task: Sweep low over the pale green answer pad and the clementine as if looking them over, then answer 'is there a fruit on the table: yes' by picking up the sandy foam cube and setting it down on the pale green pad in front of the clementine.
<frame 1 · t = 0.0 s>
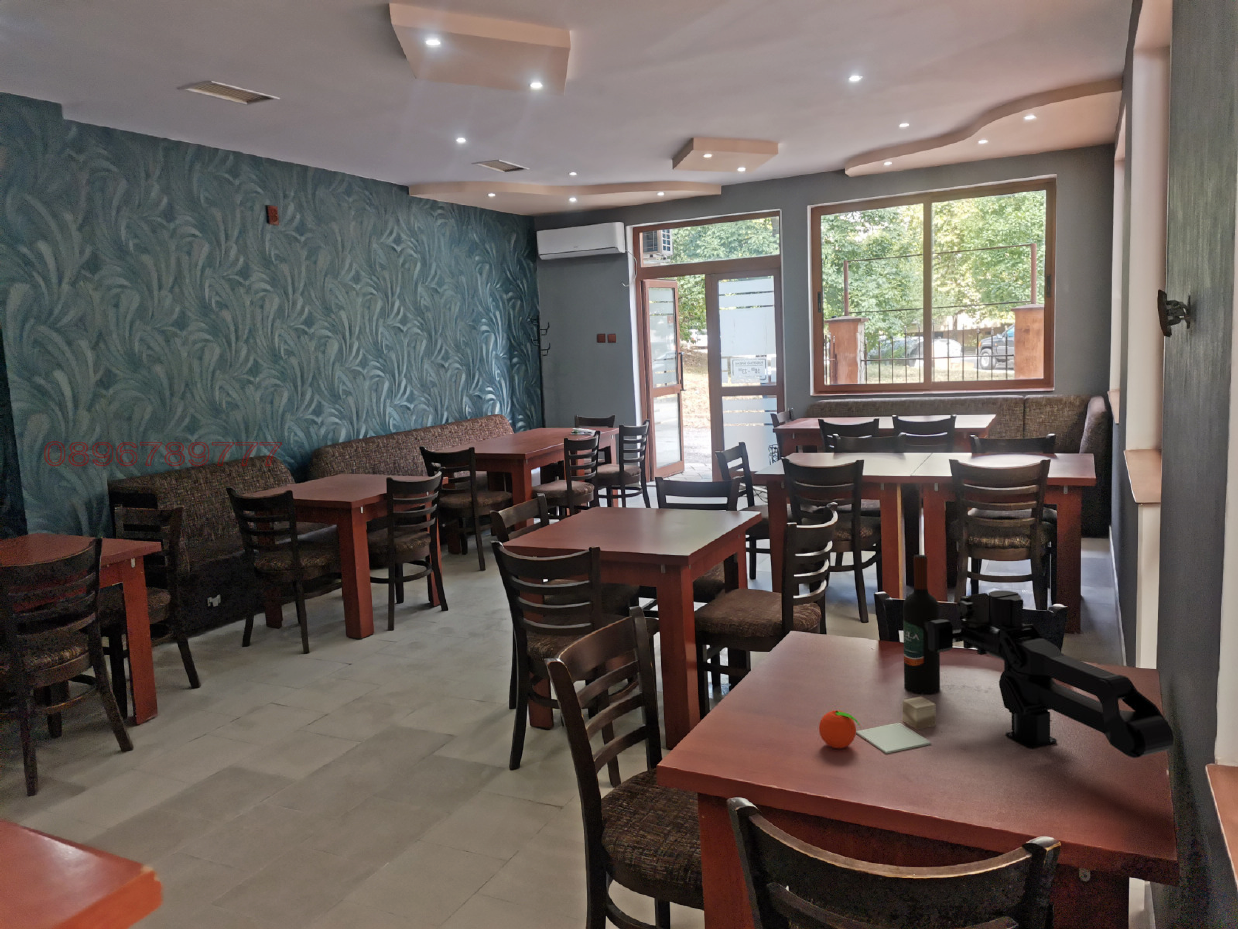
hand: (942, 620, 189), 17 cm above the table, tool horizontal, fingers open, 9 cm apart
sandy foam cube: (919, 723, 177), on the table
pad: (892, 738, 170), on the table
clementine: (840, 748, 168), on the table
wine bottle: (922, 689, 195), on the table
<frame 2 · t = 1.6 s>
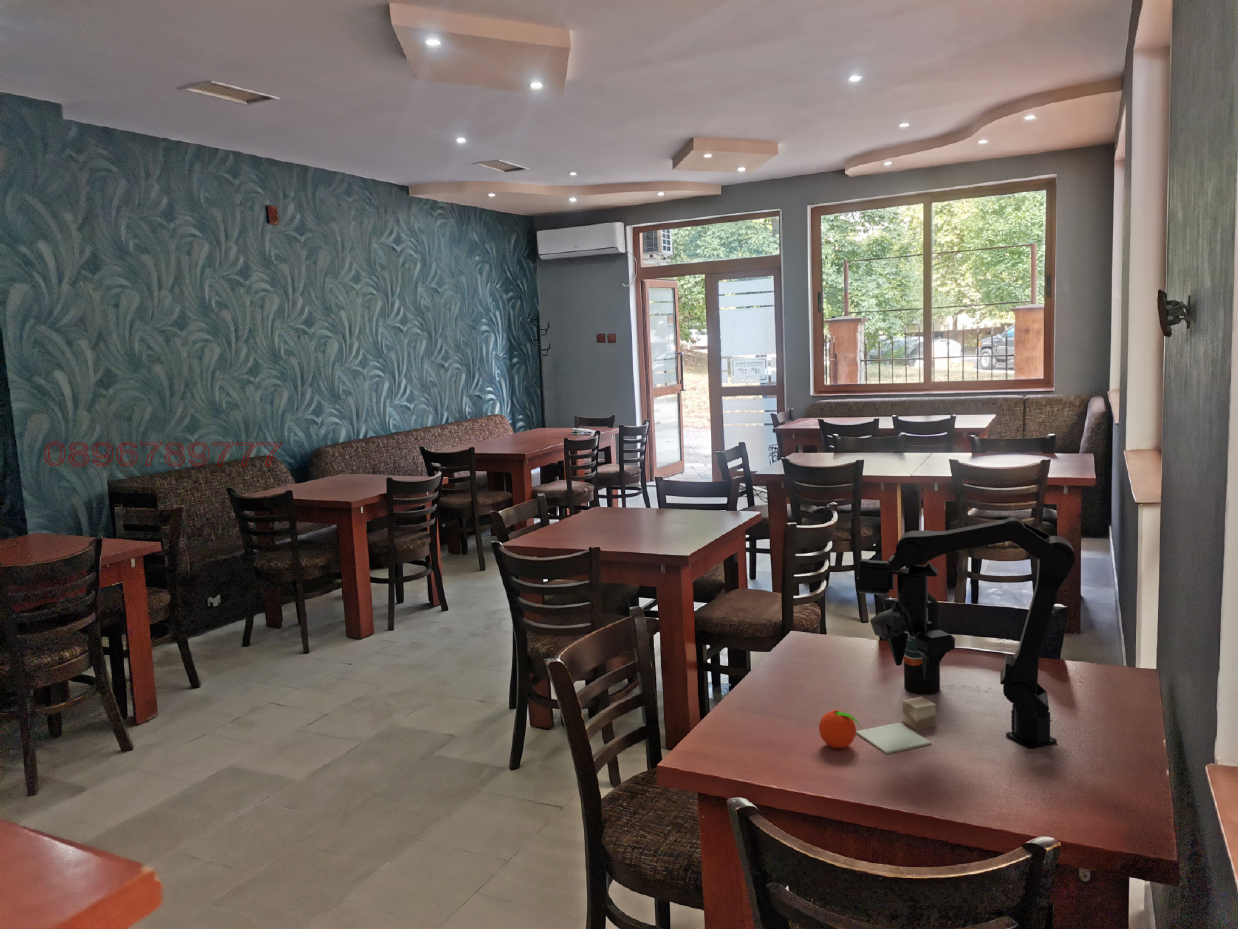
hand: (912, 672, 174), 11 cm above the table, tool pointing down, fingers open, 9 cm apart
nothing on the table moved.
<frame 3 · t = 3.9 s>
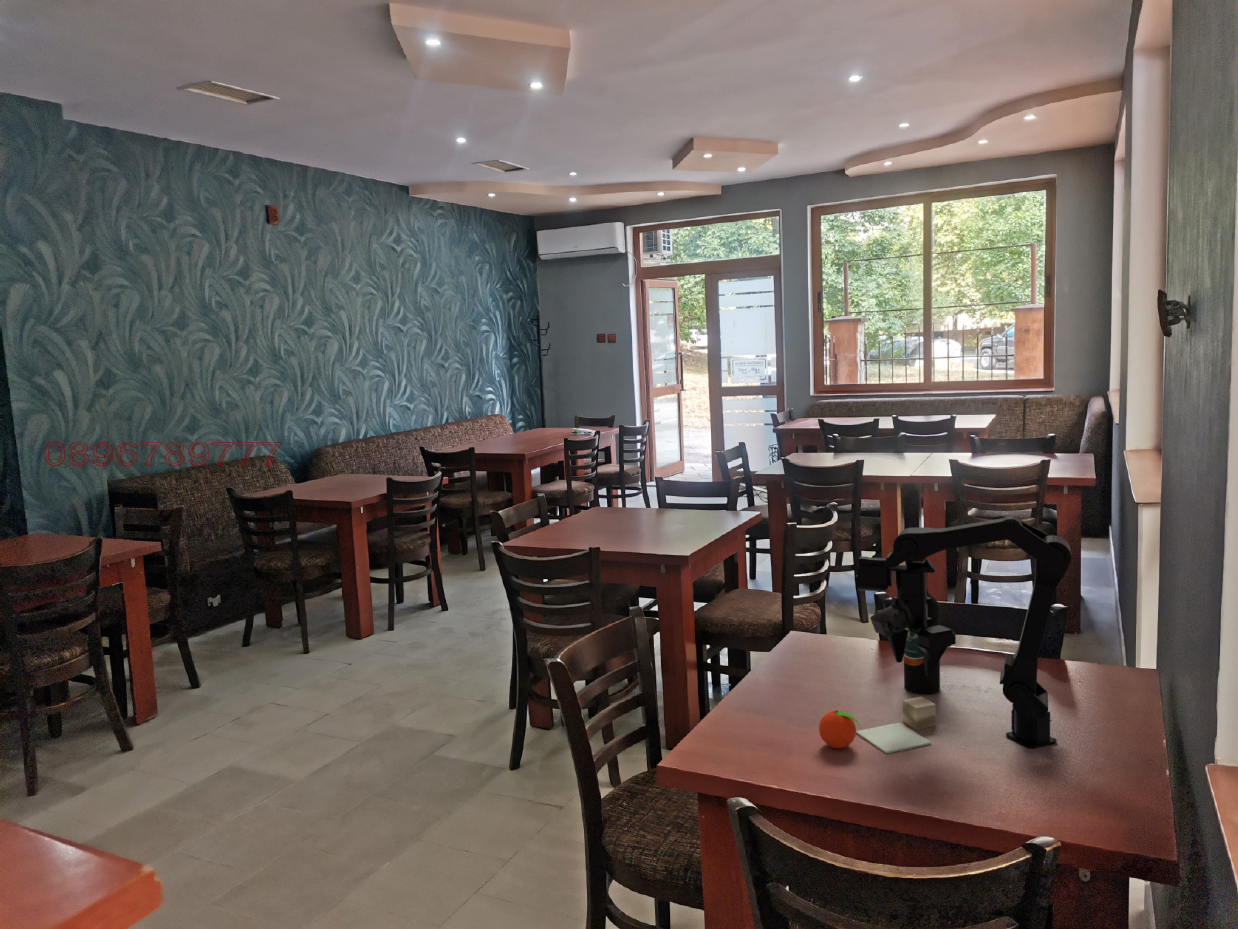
hand: (913, 669, 175), 12 cm above the table, tool pointing down, fingers open, 9 cm apart
nothing on the table moved.
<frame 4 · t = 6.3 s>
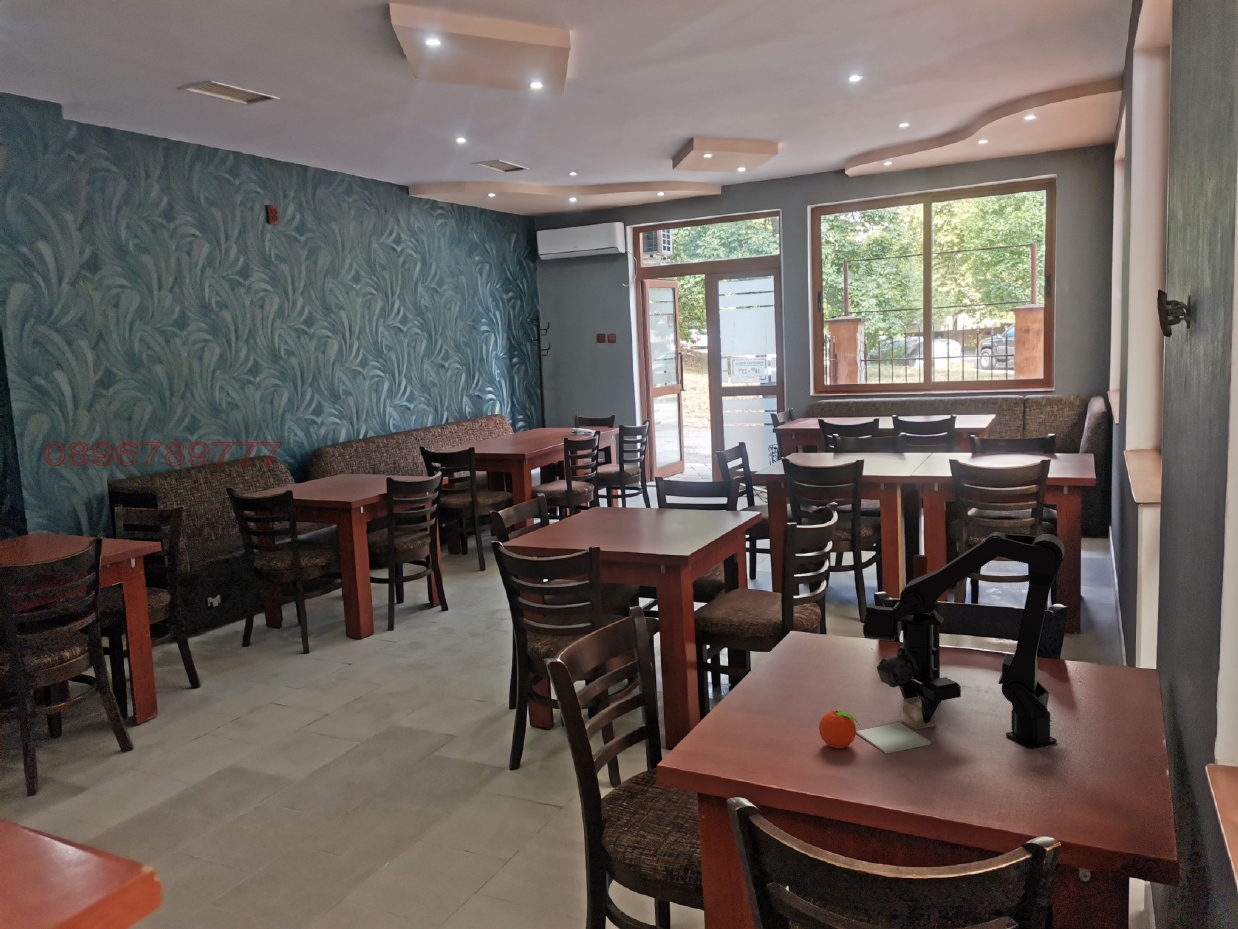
hand: (918, 718, 177), 1 cm above the table, tool pointing down, fingers closed on sandy foam cube, 4 cm apart
sandy foam cube: (919, 723, 177), on the table, touching gripper
everything else where it was.
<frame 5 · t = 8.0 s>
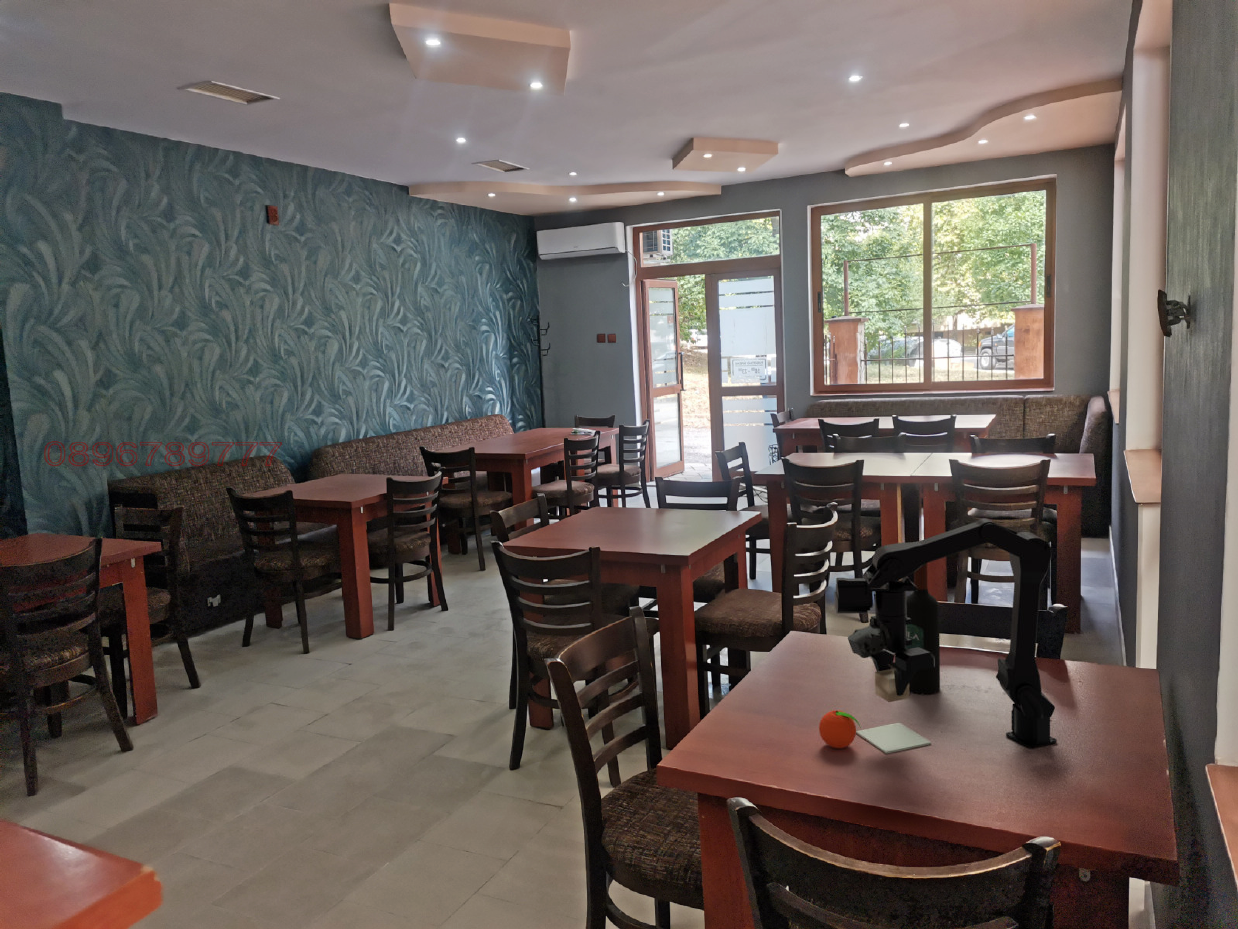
hand: (892, 691, 169), 10 cm above the table, tool pointing down, fingers closed on sandy foam cube, 4 cm apart
sandy foam cube: (892, 696, 169), point 9 cm above the table, touching gripper
everything else where it was.
when the fingers open (3 cm above the table, at t = 9.9 s): sandy foam cube drops 1 cm, resting on pad.
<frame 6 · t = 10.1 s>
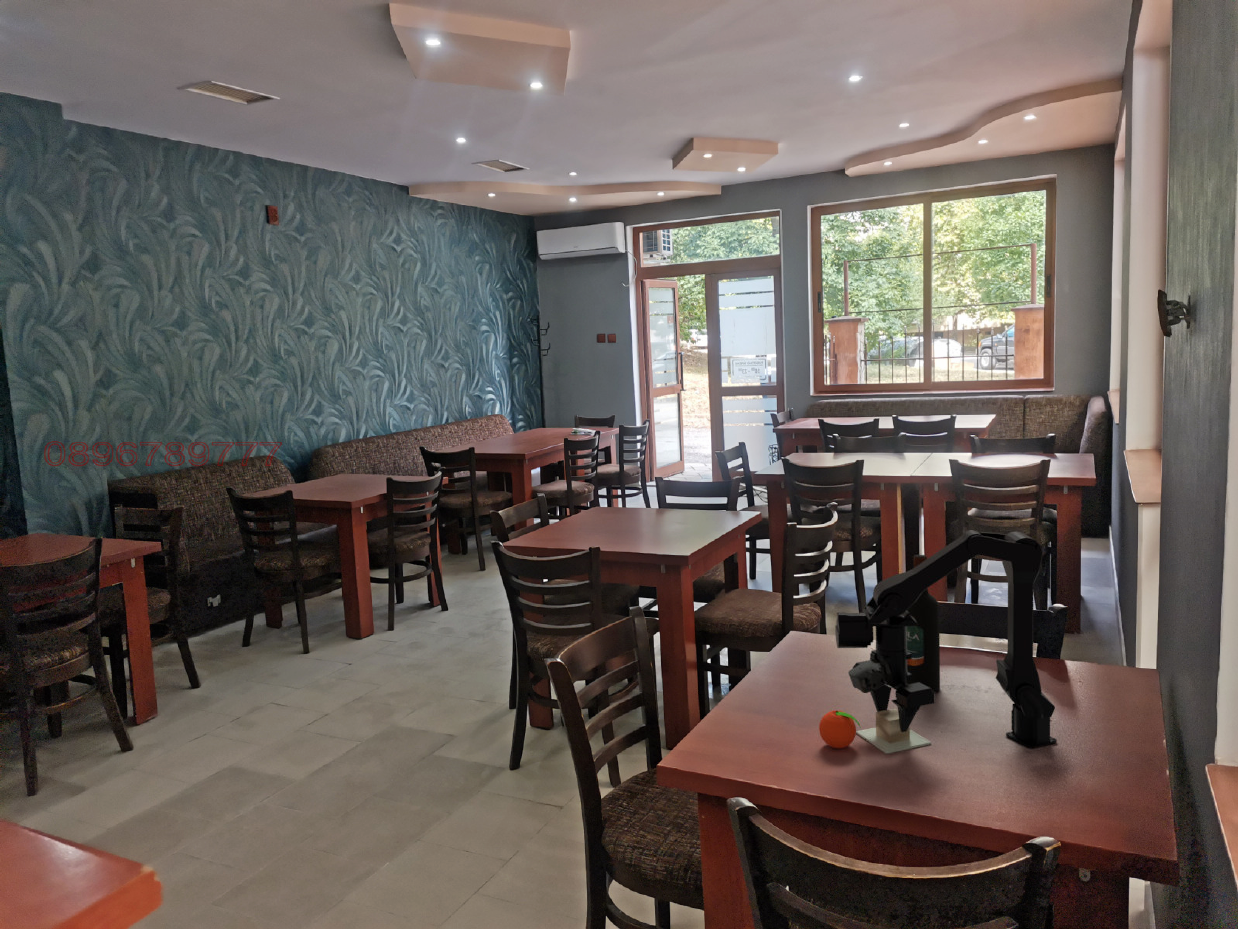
hand: (892, 725, 170), 3 cm above the table, tool pointing down, fingers open, 7 cm apart
sandy foam cube: (892, 736, 170), resting on pad
everything else where it was.
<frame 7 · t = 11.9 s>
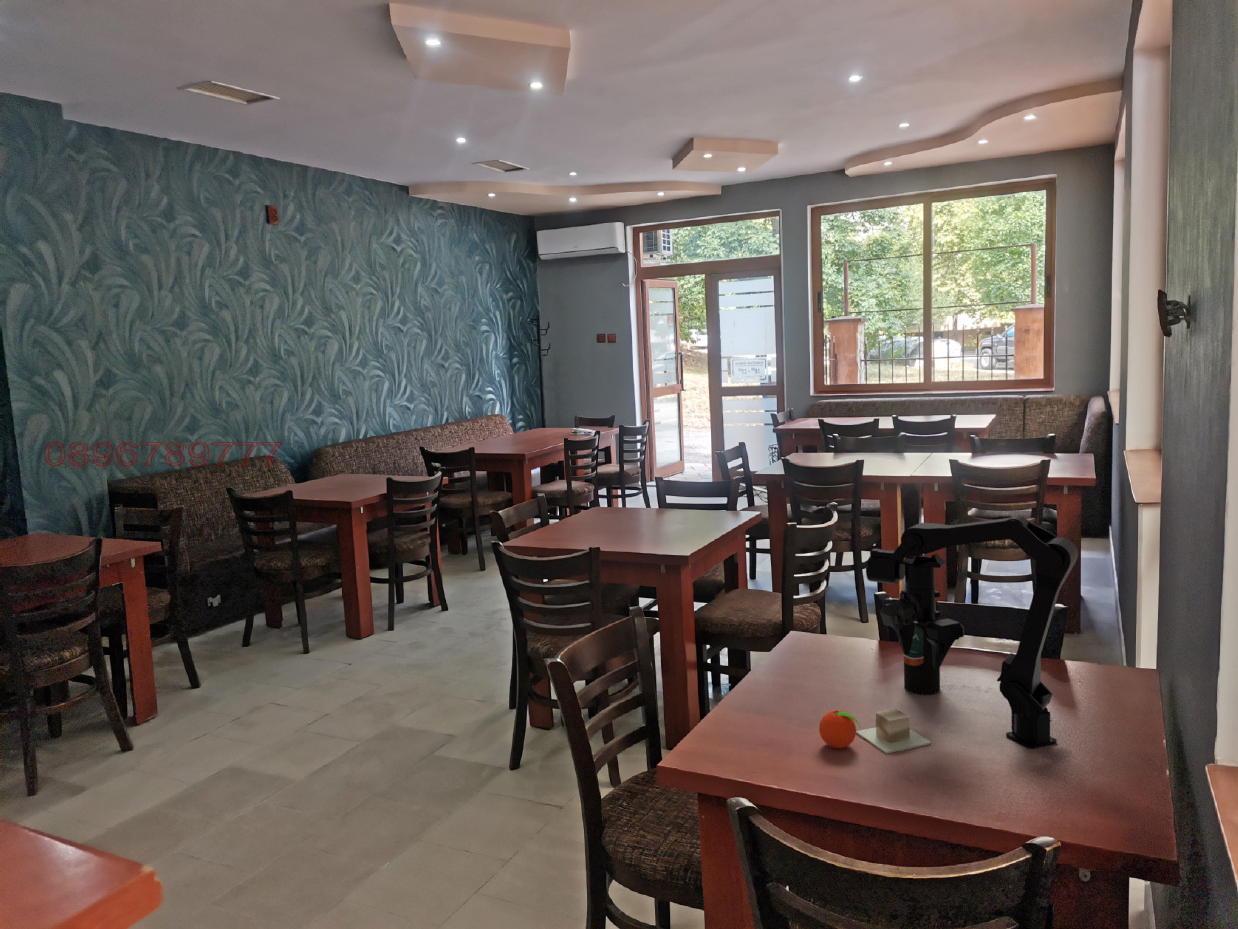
hand: (921, 661, 178), 12 cm above the table, tool pointing down, fingers open, 9 cm apart
nothing on the table moved.
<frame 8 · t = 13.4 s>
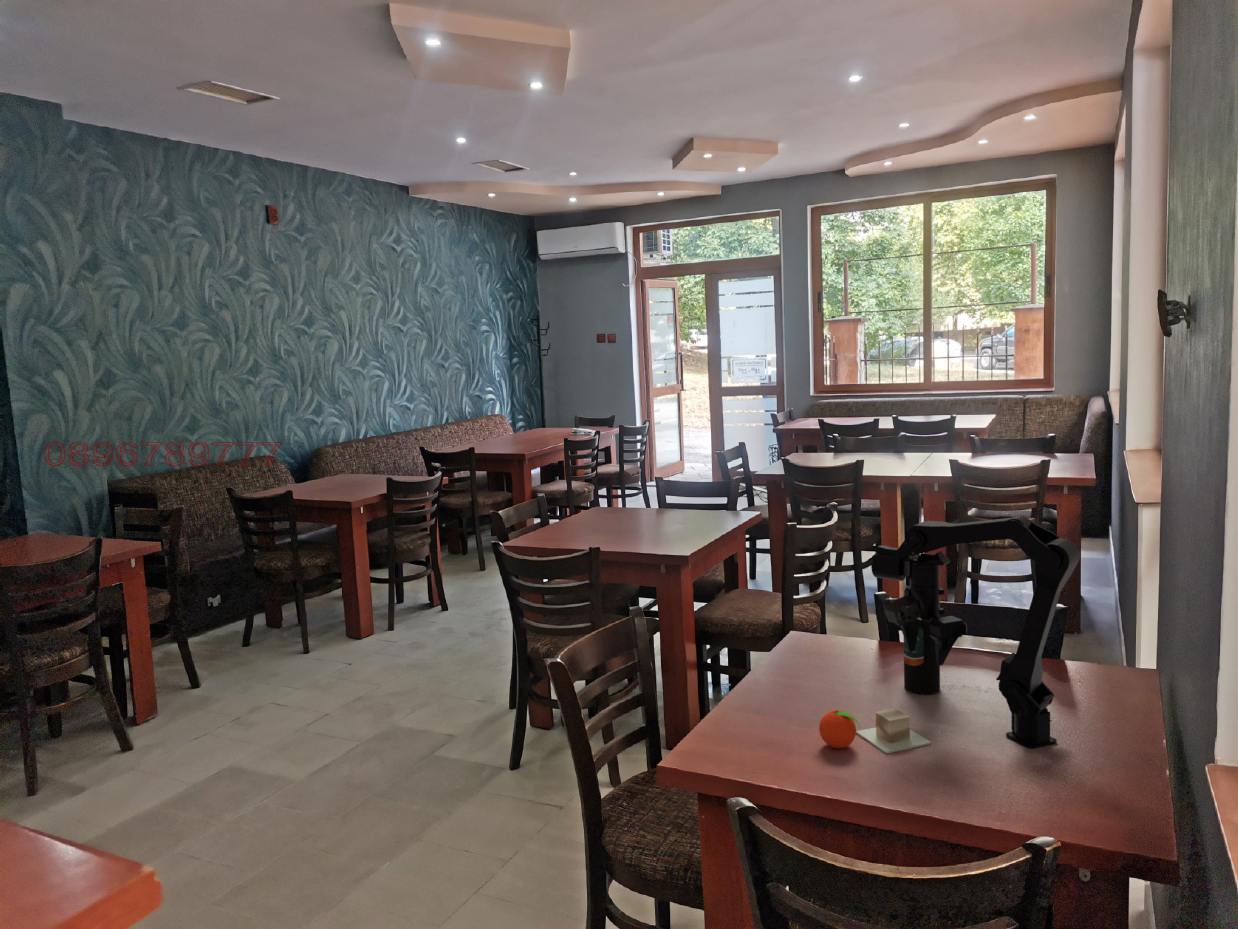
hand: (925, 658, 179), 12 cm above the table, tool pointing down, fingers open, 9 cm apart
nothing on the table moved.
at the end: sandy foam cube inside the target area on the pad (0.0 cm from its centre), point 0.4 cm above the pad's base; the gripper is holding nothing; sandy foam cube moved 9.9 cm from its start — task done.
